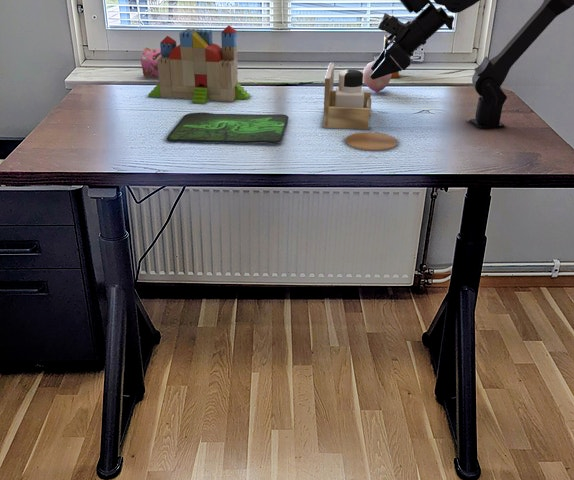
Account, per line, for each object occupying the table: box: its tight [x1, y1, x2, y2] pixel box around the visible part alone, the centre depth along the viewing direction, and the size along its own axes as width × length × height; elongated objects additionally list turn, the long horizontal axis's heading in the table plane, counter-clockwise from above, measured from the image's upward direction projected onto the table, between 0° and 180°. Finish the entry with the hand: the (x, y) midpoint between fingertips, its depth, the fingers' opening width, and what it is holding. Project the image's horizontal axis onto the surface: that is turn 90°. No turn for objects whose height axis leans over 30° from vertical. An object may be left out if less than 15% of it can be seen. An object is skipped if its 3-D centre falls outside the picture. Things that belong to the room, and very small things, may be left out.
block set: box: [148, 25, 251, 104], centre depth 177 cm, size 28×14×19 cm, turn 80°
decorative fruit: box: [362, 60, 392, 93], centre depth 185 cm, size 9×8×10 cm
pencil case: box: [140, 47, 162, 79], centre depth 198 cm, size 21×9×9 cm, turn 87°
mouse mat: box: [166, 112, 289, 144], centre depth 156 cm, size 27×22×1 cm
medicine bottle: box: [335, 69, 365, 108], centre depth 162 cm, size 7×7×12 cm
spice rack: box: [322, 62, 372, 130], centre depth 162 cm, size 12×17×12 cm
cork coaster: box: [345, 132, 398, 152], centre depth 149 cm, size 12×12×1 cm
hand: (371, 73), depth 158 cm, fingers open, 9 cm apart
